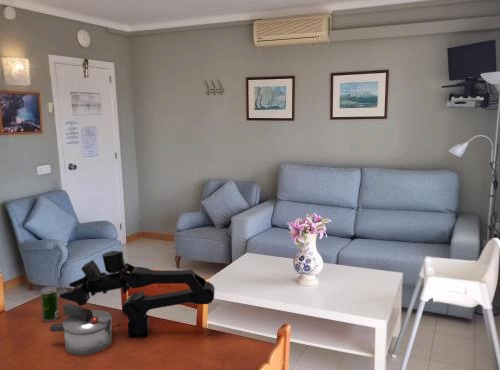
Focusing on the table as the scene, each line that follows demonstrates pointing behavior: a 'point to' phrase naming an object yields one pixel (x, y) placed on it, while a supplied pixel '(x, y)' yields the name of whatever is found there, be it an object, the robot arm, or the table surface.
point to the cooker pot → (85, 340)
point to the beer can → (49, 303)
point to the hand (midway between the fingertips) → (64, 290)
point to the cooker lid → (84, 320)
